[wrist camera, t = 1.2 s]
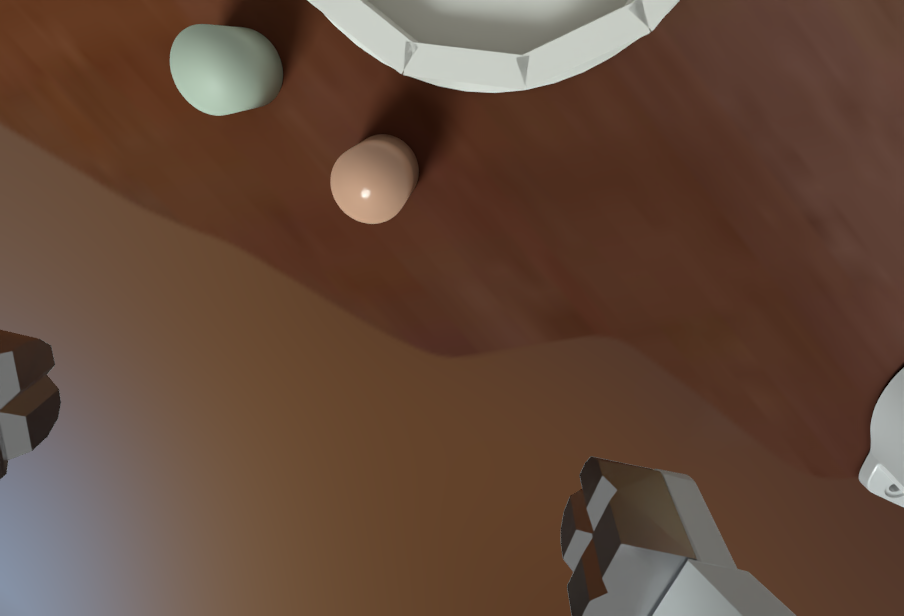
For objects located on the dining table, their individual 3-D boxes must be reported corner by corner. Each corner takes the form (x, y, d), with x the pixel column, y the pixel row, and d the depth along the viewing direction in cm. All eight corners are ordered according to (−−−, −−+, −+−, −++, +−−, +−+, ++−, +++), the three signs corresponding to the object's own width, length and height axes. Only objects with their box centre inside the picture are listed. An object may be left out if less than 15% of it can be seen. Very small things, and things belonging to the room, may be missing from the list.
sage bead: (295, 59, 31) (265, 61, 27) (263, 122, 33) (230, 132, 29) (230, 10, 30) (188, 4, 26) (200, 77, 32) (157, 81, 28)
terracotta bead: (432, 163, 33) (422, 178, 29) (394, 217, 35) (380, 238, 31) (374, 119, 32) (355, 128, 28) (338, 176, 34) (316, 193, 30)
